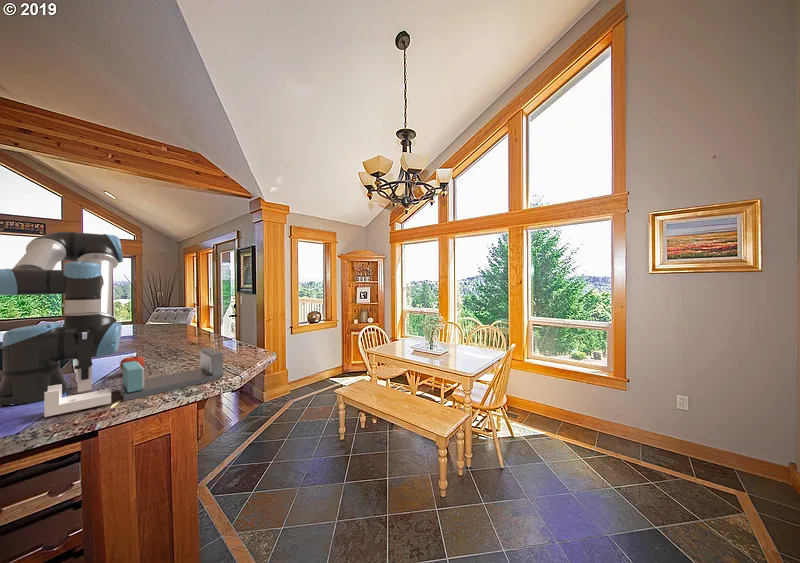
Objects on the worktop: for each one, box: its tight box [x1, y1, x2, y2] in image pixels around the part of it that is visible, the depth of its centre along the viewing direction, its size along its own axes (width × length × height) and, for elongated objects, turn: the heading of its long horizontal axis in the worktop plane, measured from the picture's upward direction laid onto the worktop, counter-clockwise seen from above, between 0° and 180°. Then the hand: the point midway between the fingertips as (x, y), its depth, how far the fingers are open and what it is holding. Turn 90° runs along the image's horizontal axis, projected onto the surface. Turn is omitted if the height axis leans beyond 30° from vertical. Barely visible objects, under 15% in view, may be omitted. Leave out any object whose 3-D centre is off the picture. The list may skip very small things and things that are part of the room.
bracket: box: [43, 384, 112, 418], centre depth 87 cm, size 13×7×8 cm, turn 135°
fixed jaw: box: [199, 346, 224, 376], centre depth 116 cm, size 14×4×8 cm, turn 49°
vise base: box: [117, 367, 224, 402], centre depth 107 cm, size 14×28×2 cm, turn 139°
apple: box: [119, 353, 145, 372], centre depth 119 cm, size 7×7×8 cm
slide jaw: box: [122, 361, 145, 393], centre depth 99 cm, size 13×4×7 cm, turn 49°
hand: (83, 385), depth 87 cm, fingers open, 13 cm apart
